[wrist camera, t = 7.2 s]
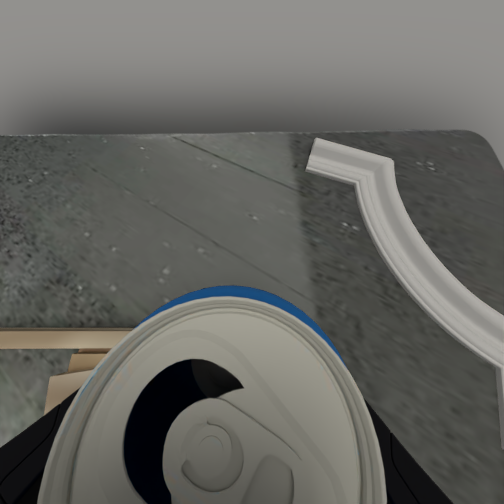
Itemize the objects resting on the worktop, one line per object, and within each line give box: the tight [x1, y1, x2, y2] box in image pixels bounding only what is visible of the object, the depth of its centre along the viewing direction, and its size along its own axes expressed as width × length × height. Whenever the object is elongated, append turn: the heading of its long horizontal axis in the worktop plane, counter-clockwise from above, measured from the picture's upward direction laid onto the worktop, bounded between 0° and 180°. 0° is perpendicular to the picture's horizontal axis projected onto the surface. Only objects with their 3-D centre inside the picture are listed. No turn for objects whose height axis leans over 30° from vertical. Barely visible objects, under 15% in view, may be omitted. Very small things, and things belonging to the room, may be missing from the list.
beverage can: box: [37, 286, 387, 504], centre depth 9 cm, size 6×6×12 cm
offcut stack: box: [44, 348, 112, 415], centre depth 16 cm, size 7×5×4 cm
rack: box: [0, 328, 134, 349], centre depth 16 cm, size 6×18×5 cm, turn 90°
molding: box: [305, 138, 504, 450], centre depth 23 cm, size 42×12×3 cm, turn 27°
